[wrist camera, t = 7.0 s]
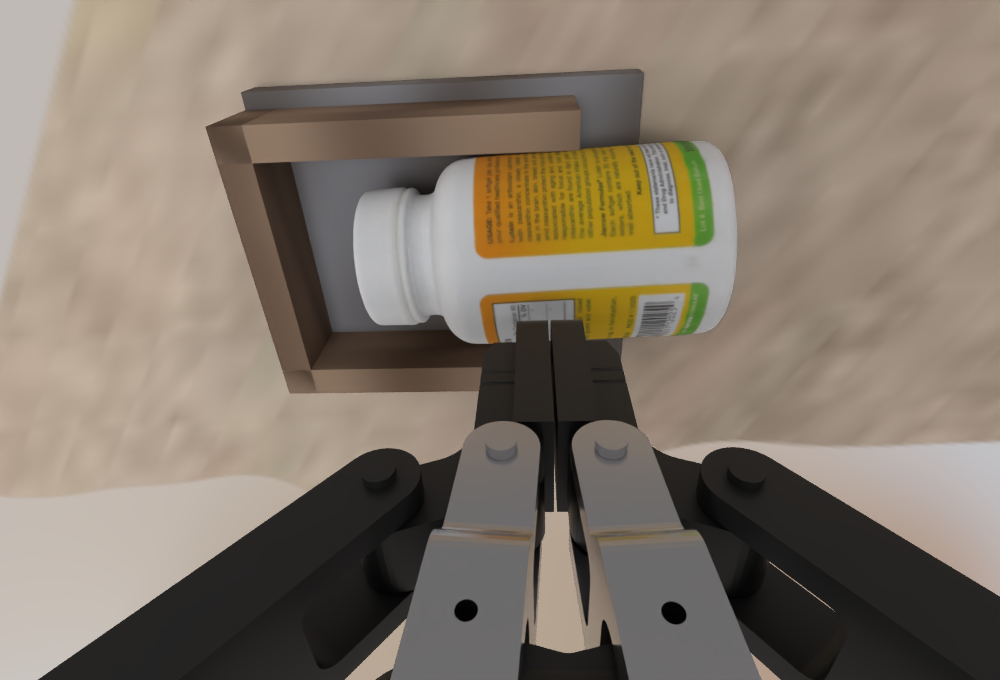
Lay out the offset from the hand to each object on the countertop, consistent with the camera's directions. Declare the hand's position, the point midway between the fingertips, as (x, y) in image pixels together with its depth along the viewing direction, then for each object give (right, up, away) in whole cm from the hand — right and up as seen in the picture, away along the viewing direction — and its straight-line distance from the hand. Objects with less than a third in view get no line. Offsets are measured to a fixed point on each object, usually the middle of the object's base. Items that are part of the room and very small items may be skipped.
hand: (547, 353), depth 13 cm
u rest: (-3, +4, +7) cm, 9 cm away
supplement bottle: (+5, +3, +3) cm, 7 cm away
